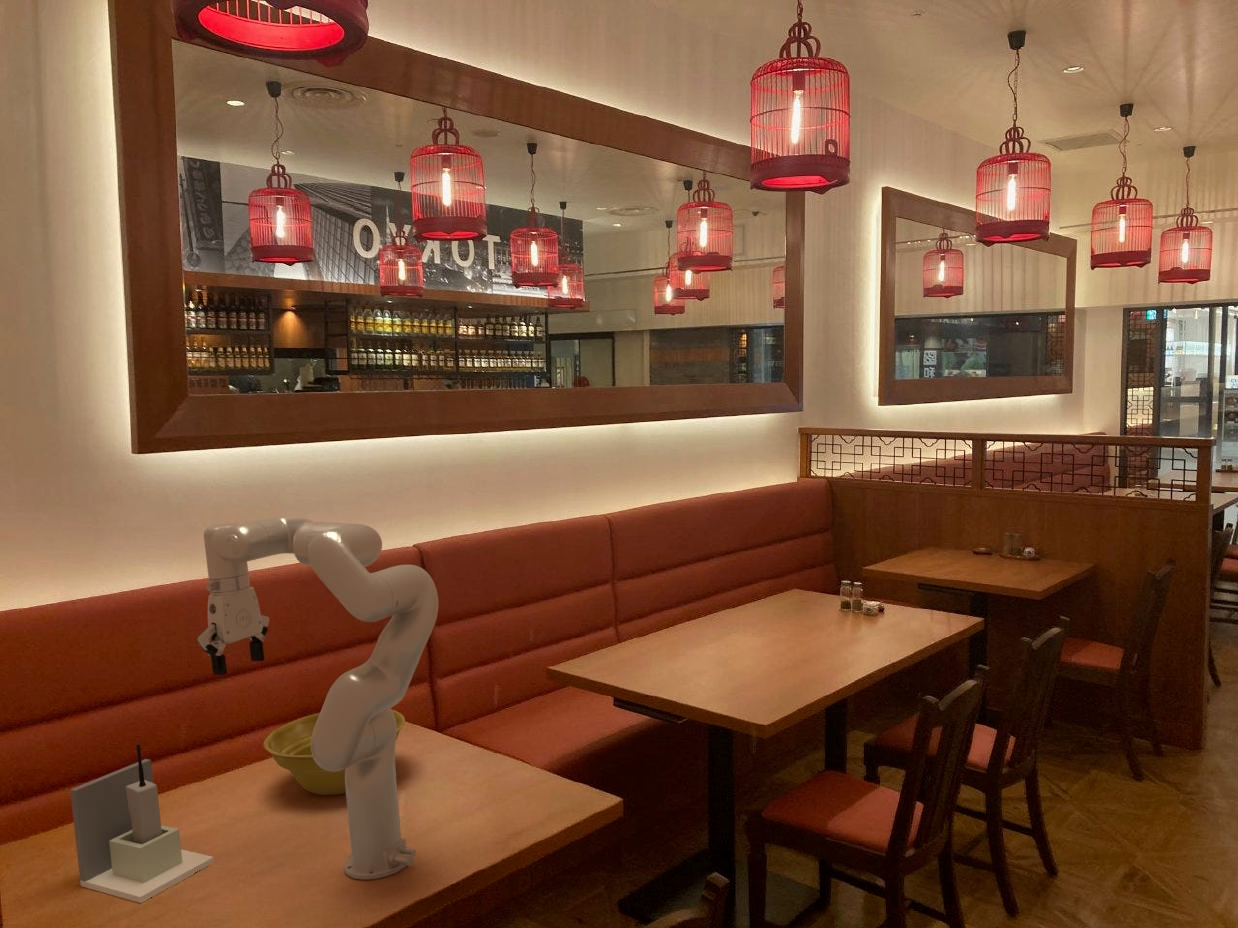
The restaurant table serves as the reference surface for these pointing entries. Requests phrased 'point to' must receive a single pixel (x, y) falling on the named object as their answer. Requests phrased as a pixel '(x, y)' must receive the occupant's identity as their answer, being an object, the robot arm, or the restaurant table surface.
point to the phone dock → (125, 842)
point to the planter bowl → (308, 755)
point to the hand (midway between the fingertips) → (239, 667)
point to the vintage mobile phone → (143, 807)
